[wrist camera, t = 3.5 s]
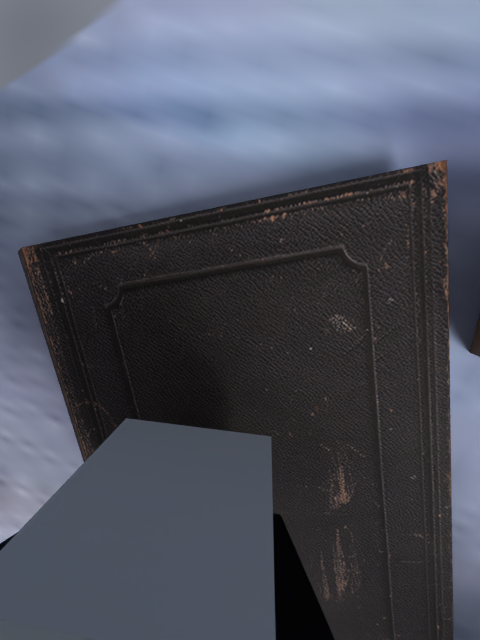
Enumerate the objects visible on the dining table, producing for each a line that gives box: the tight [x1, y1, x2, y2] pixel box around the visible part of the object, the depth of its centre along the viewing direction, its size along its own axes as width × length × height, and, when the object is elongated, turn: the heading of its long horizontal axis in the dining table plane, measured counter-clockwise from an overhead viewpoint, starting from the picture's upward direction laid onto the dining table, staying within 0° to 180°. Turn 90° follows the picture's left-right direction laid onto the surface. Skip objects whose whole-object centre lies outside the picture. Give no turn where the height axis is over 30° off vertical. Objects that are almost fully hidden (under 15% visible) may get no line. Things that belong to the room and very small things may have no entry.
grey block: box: [0, 418, 276, 640], centre depth 7 cm, size 5×5×5 cm
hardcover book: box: [18, 160, 453, 640], centre depth 12 cm, size 16×23×2 cm
